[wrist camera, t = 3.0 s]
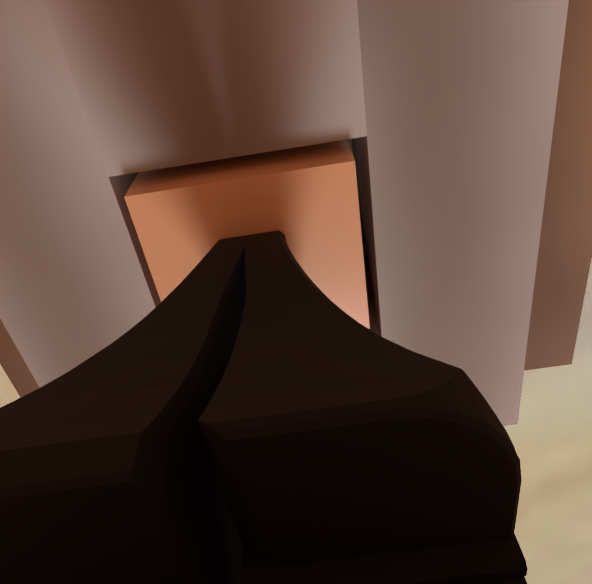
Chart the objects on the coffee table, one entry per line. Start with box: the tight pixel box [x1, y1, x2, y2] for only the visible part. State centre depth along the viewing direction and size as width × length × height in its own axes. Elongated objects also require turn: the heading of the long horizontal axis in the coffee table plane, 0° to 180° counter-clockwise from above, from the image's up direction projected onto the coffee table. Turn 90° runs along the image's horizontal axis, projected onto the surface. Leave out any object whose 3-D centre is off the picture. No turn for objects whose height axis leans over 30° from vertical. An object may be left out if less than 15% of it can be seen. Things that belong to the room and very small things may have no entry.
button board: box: [0, 0, 592, 426], centre depth 13 cm, size 18×14×4 cm
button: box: [124, 139, 370, 329], centre depth 12 cm, size 4×4×3 cm
